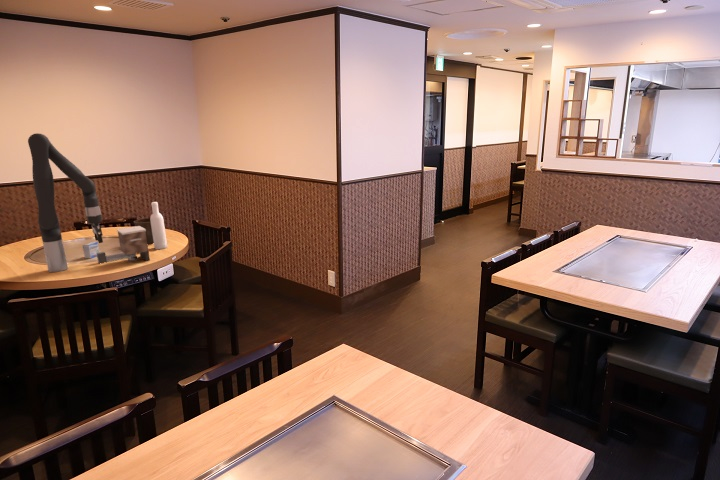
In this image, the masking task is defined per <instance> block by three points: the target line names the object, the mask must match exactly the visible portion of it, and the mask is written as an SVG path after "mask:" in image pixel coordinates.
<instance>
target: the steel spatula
mask: <svg viewBox="0 0 720 480" xmlns="http://www.w3.org/2000/svg"><path fill="white" fill-rule="evenodd" d="M130 256H137V253H135V254H129V255H126V254H125V253H123V252H119V253H114V254H109V255H106V252H105V251H99V253H97V256H96V257H97V258H96V259H97V262H98V264H100V263H101V264H105V263H104V262H106V263H108V261H110V262H115V261H120V260H124V259H128V257H130ZM119 259H120V260H119ZM114 260H115V261H114ZM101 264H100V265H101Z"/></svg>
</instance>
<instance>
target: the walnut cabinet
mask: <svg viewBox="0 0 720 480" xmlns="http://www.w3.org/2000/svg"><path fill="white" fill-rule="evenodd" d="M145 231H146V229H144V228H143V227H141V226H135V225H134V226H130V227H123V228H117V229H116V232H117V235H118V242H119V246H120V247H119V248H120V251H121V253H125V254H126V255H129V254H135V253H136V254H138V253H139V256H140V258H141V259H143V260H144V261H145V262H150V261H151V259H150V253H149V246H148V245H149V244H148V245H147V238H146V232H145Z"/></svg>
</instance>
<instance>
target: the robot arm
mask: <svg viewBox="0 0 720 480" xmlns="http://www.w3.org/2000/svg"><path fill="white" fill-rule="evenodd" d="M27 143H28V148H29V151H30V154H31V159H32V162H31V163H32V168H31V169H32V181H33V182H32V183H33V190H34V194H35V197H36V201H37V206H38V207H37V208H38V217H37V218H38V219H37V221H38V222H37V223H38V225H39V231H40V235H41V240H42V245H43V250H44V256H45V261H46V266H47V270H48V272H49V273H56V272H62V271H66V270H68V268H69V267H68V261H67V257H66V253H65V247H64V243H63V238H62V237H63V236H62V231H61V227H60V221H59V217H58V215H57V210H56V207H55V181H54V175H53V170H52V167H51V163H50V161H51V162H52V163H53V164H54V165H55V167H56V168H58V169H59V170H60V171H61V172H62V173H63V174H64V175H65V176H66V177H67V178H68V179H69V180H71V181H72V182H74V184H76V185H77V187H78V188H79V189H81V192H82V196H83V205H84V208H85V217H86V219H87V223H88V225H89V224H90V225H91V229H92V232H93V235H94V239H95V242H98V244H102V243H104V241H103V232H102V226H101V225H100V223H102V222H103V216H102V210H101V208H100V203H99V199H98V196H97V192H96V185H95V184H96V183H95V182H94V181H93V180H91V179H90V178H89V177H88V176H86V175H85V174H84V173H83V172H82V170H81V169H79V168H78V166H76V165H75V164H74V163H73V162H72V161H70V160H69V158H67V157H65V156H64V155H63V154H62V153H61V152H60V151H59V149H57V148H56V147H55V146H54V145H53V143H51V141H50V140H49V137H47V136H46V135H45V134H42V133H39V132H37V133H33V134H31V135H30V136H29V137H28V138H27Z"/></svg>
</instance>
